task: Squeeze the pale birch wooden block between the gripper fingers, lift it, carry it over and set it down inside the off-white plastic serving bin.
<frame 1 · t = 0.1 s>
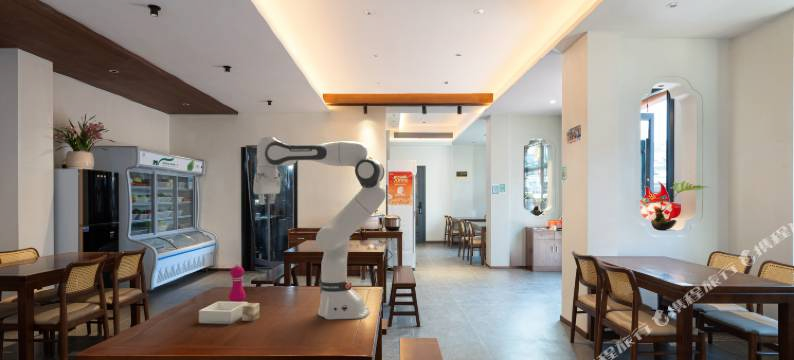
hand: (267, 204, 183), 48 cm above the table, tool pointing down, fingers open, 8 cm apart
birch block: (251, 319, 171), on the table
serving bin: (224, 318, 172), on the table
pepper mill: (237, 306, 191), on the table
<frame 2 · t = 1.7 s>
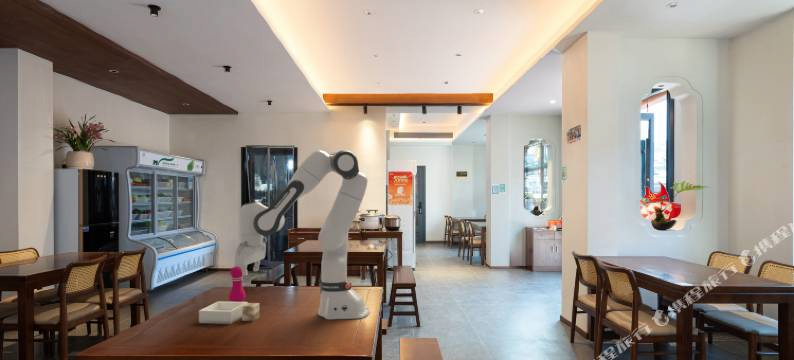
hand: (250, 273, 172), 19 cm above the table, tool pointing down, fingers open, 8 cm apart
nothing on the table moved.
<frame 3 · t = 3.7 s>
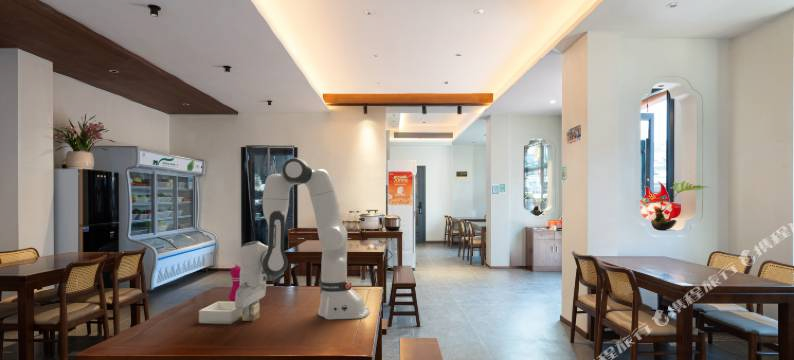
hand: (251, 313, 171), 2 cm above the table, tool pointing down, fingers closed on birch block, 5 cm apart
birch block: (251, 318, 171), on the table, touching gripper
everything else where it was.
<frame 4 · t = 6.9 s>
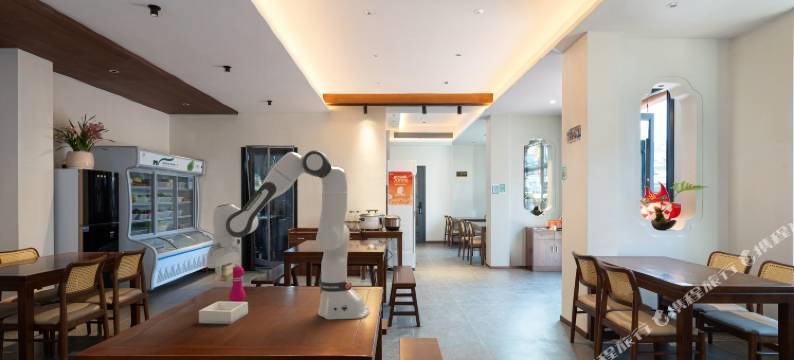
hand: (224, 274, 173), 18 cm above the table, tool pointing down, fingers closed on birch block, 5 cm apart
birch block: (224, 280, 173), point 16 cm above the table, touching gripper
everything else where it was.
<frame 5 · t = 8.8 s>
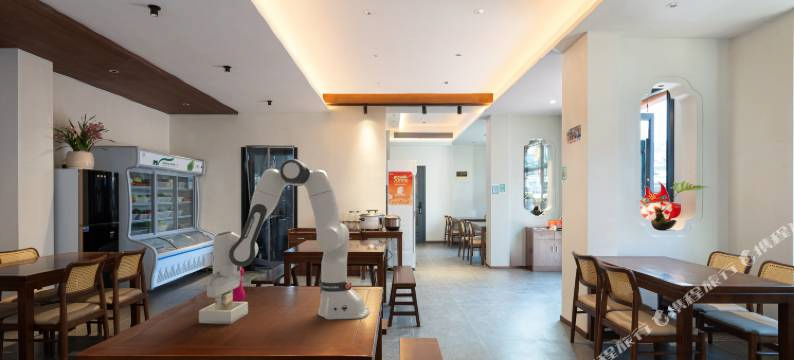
hand: (224, 302, 173), 6 cm above the table, tool pointing down, fingers closed on birch block, 5 cm apart
birch block: (223, 308, 173), point 4 cm above the table, touching gripper
everything else where it was.
when the fingers open (5 cm above the table, at t = 10.0 s): birch block drops 2 cm, resting on serving bin.
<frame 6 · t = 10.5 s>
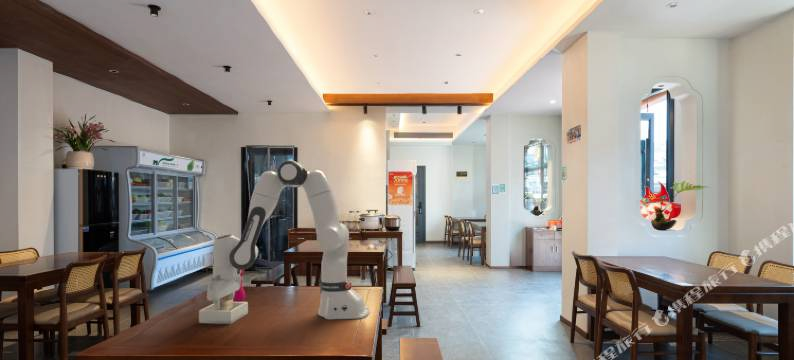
hand: (224, 306, 173), 5 cm above the table, tool pointing down, fingers open, 8 cm apart
birch block: (224, 315, 173), point 1 cm above the table, touching serving bin
everything else where it was.
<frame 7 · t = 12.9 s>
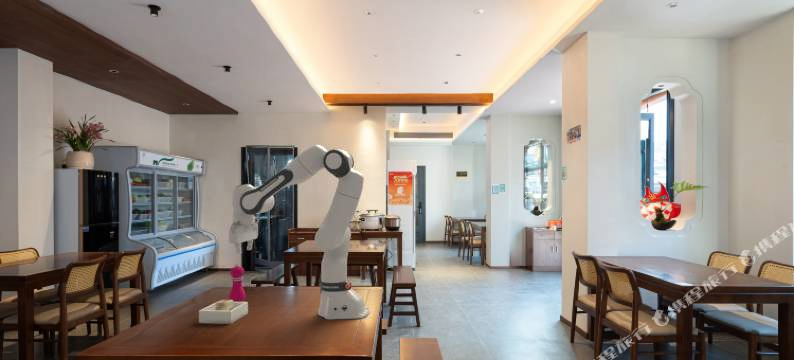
hand: (244, 251, 182), 27 cm above the table, tool pointing down, fingers open, 8 cm apart
nothing on the table moved.
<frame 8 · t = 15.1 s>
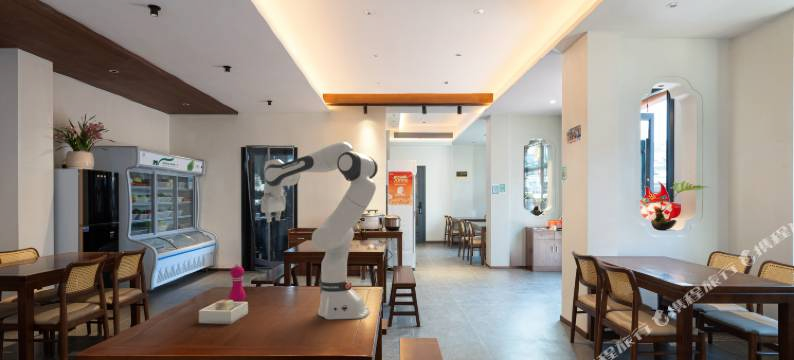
hand: (273, 221, 197), 39 cm above the table, tool pointing down, fingers open, 8 cm apart
nothing on the table moved.
at the end: birch block inside the target area on the serving bin (0.0 cm from its centre), point 1.0 cm above the serving bin's base; birch block tilted 0°; the gripper is holding nothing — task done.
